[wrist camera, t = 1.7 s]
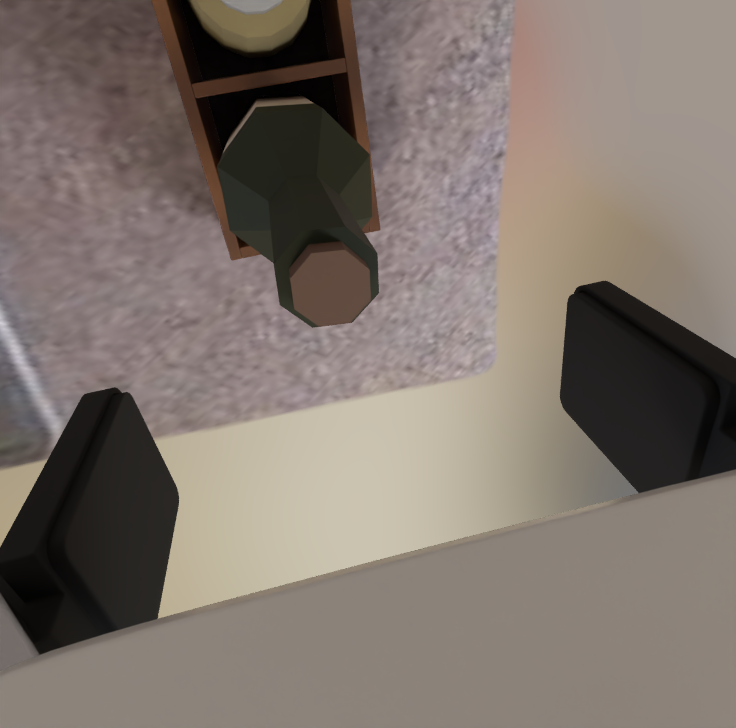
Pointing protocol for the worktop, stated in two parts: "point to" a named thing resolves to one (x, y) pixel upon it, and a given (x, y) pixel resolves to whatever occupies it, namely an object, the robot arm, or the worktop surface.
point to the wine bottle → (303, 206)
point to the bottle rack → (197, 90)
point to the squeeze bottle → (252, 23)
